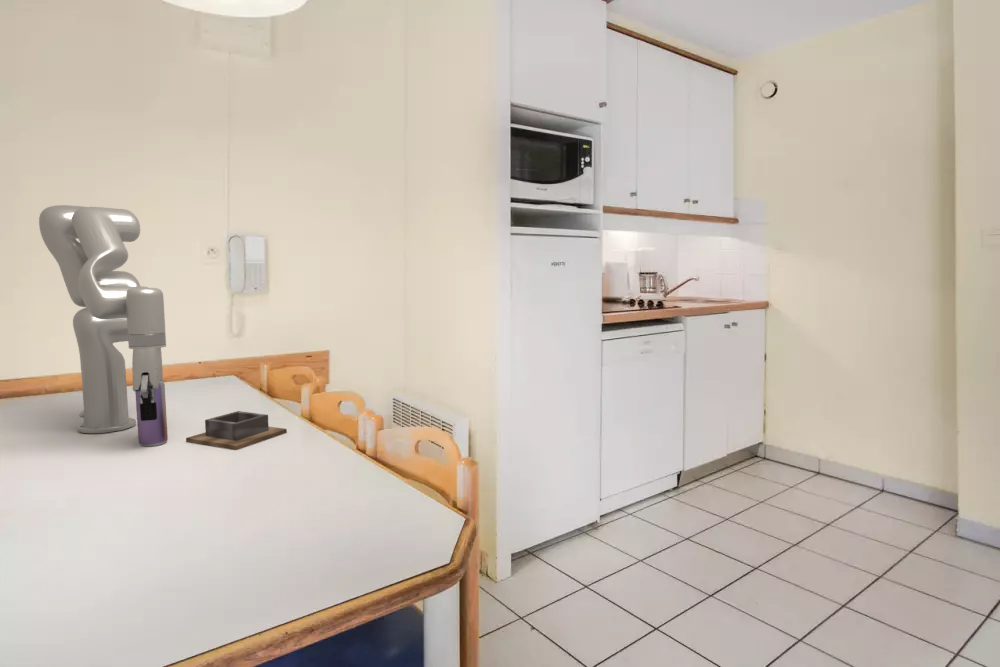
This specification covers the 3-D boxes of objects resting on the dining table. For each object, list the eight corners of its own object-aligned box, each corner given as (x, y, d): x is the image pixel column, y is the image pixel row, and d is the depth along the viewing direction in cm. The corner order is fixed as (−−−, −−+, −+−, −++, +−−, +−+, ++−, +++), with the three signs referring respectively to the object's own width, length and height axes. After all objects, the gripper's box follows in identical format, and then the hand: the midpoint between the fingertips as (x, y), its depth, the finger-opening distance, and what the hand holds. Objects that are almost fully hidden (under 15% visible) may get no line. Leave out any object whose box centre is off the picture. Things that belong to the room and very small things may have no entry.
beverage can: (154, 448, 137) (150, 383, 135) (132, 446, 138) (128, 382, 136) (173, 440, 143) (170, 379, 141) (152, 439, 144) (148, 378, 142)
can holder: (186, 442, 142) (185, 421, 141) (239, 426, 156) (238, 407, 156) (236, 450, 135) (235, 428, 135) (286, 432, 150) (286, 413, 149)
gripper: (136, 337, 144) (140, 409, 146) (120, 346, 128) (125, 426, 130) (170, 336, 147) (174, 407, 149) (159, 344, 131) (164, 423, 133)
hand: (151, 415), depth 139 cm, fingers open, 6 cm apart
